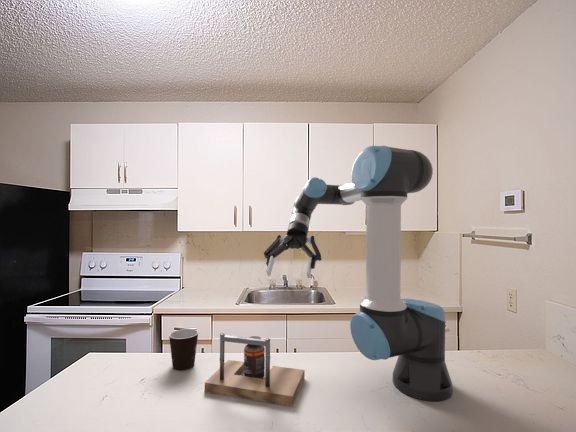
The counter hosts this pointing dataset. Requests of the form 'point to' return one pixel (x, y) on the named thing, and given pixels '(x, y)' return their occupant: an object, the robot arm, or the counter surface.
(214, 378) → the notched wooden board
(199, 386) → the counter surface
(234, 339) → the grey metal arch frame
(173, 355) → the coffee mug
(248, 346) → the supplement bottle
